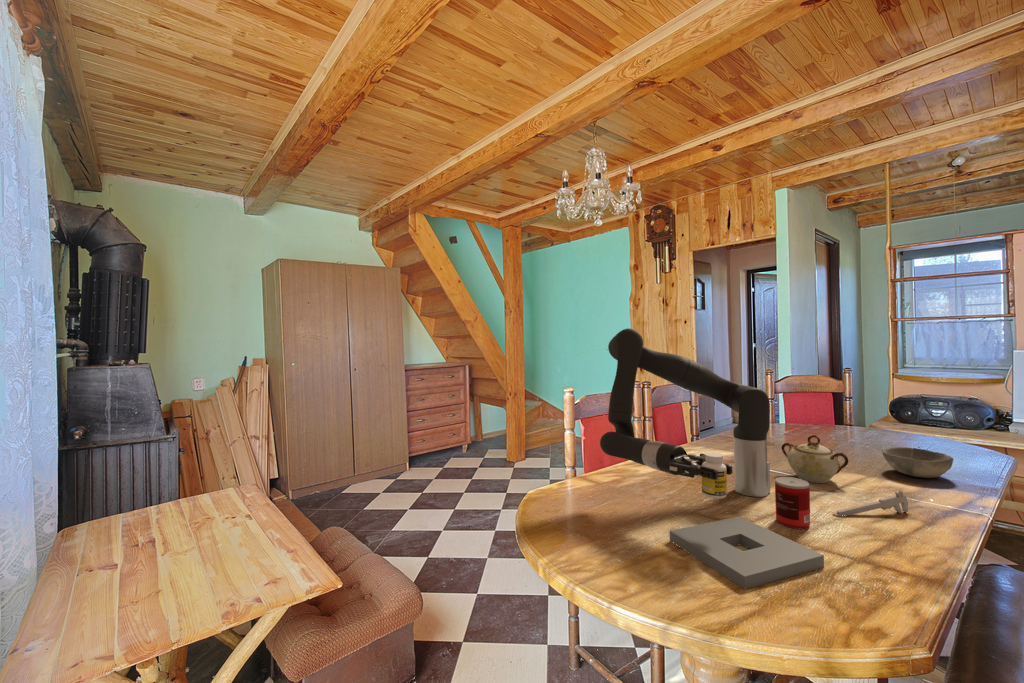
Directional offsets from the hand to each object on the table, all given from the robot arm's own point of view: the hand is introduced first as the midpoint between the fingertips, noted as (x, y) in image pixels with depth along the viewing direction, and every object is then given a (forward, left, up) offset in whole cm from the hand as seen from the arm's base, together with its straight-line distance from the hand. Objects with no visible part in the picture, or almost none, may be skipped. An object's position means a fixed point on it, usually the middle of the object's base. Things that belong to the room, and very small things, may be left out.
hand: (724, 472), depth 103 cm
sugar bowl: (-64, -26, -18) cm, 71 cm away
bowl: (-98, -15, -18) cm, 101 cm away
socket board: (-1, +3, -18) cm, 18 cm away
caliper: (-50, 0, -18) cm, 53 cm away
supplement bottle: (+1, -2, -6) cm, 7 cm away
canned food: (-26, -4, -18) cm, 32 cm away
